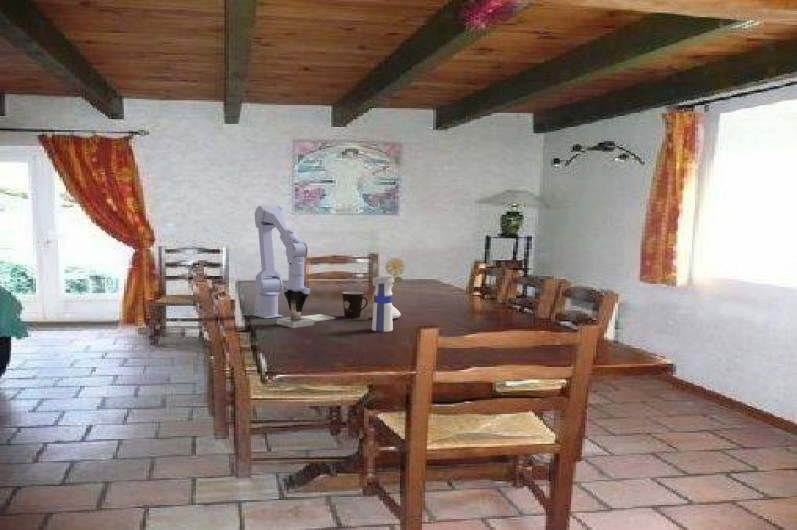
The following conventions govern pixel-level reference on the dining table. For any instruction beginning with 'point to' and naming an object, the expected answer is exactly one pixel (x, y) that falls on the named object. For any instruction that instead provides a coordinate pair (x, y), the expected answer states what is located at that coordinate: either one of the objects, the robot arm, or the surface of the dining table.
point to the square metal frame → (295, 322)
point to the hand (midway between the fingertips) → (295, 311)
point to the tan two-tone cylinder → (294, 311)
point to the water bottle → (382, 303)
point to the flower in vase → (395, 268)
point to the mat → (319, 317)
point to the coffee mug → (353, 304)
